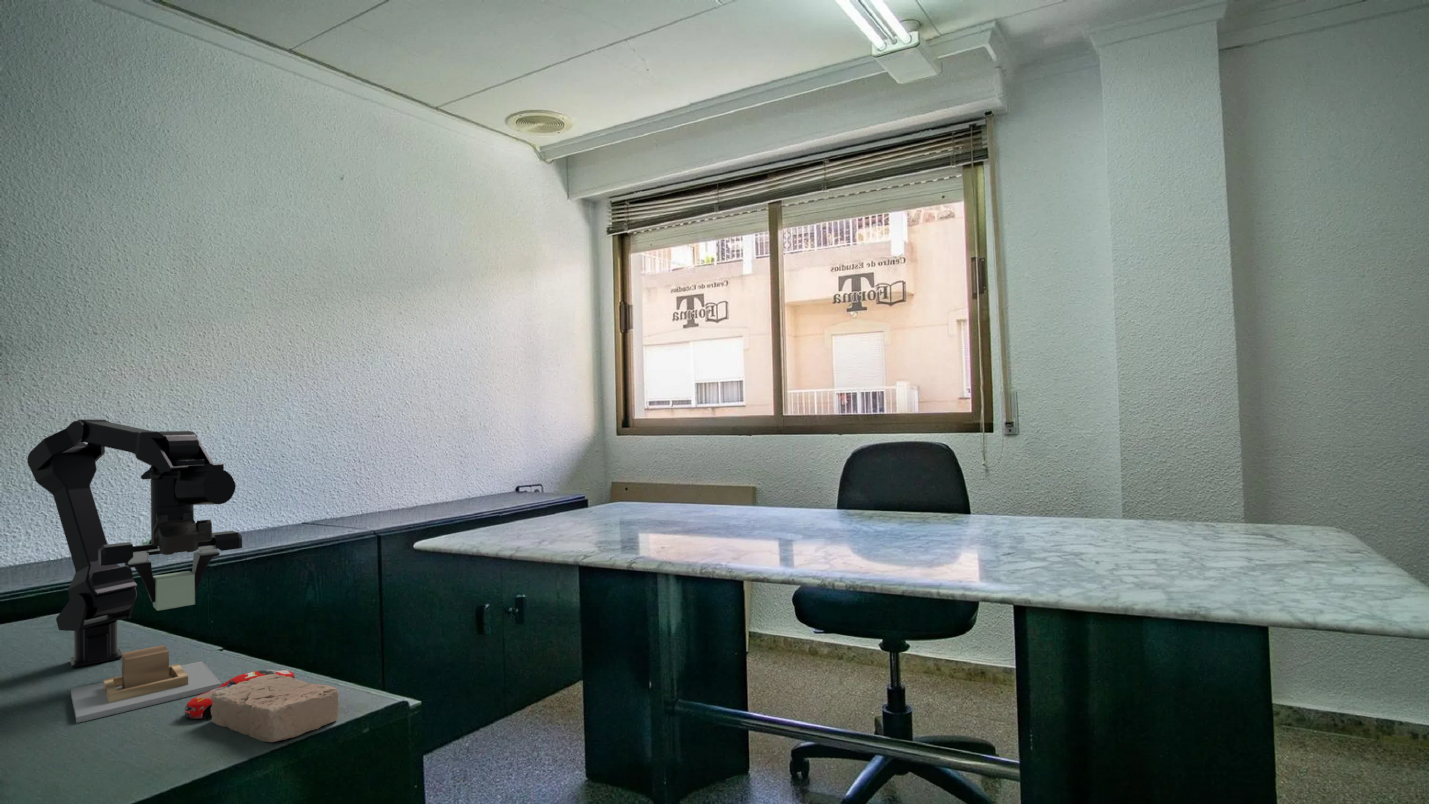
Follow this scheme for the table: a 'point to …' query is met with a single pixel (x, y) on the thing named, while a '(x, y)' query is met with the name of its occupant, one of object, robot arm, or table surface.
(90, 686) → the baseplate
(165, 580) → the sage block
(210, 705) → the race car
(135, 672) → the walnut block
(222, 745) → the table surface
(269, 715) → the brick
